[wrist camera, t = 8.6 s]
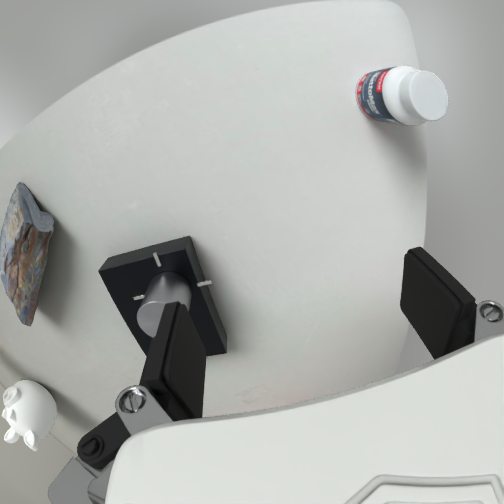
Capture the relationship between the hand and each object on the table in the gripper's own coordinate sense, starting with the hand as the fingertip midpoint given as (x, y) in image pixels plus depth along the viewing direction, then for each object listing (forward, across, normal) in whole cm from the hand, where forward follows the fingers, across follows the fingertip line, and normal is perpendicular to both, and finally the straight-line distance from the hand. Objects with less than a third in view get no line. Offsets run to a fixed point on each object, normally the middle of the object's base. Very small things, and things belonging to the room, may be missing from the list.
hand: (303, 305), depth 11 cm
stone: (+18, +30, -1) cm, 35 cm away
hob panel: (+18, +13, +10) cm, 24 cm away
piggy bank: (+17, +51, +26) cm, 59 cm away
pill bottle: (+18, -13, -8) cm, 24 cm away
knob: (+14, +11, +7) cm, 19 cm away
